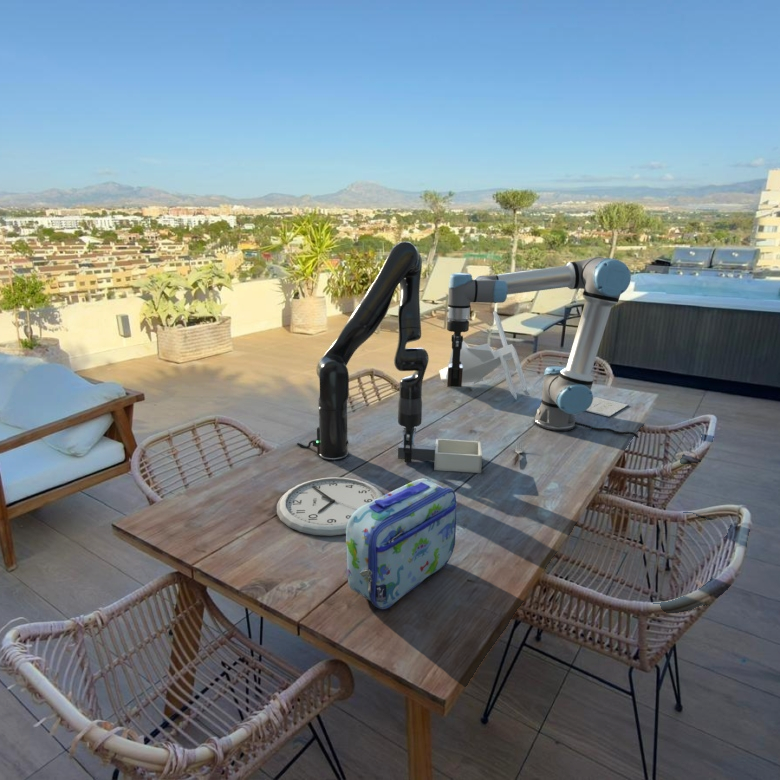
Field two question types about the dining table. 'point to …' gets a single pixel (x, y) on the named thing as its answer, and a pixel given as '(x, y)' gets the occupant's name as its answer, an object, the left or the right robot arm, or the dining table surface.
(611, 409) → the invitation card
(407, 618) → the dining table surface
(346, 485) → the wall clock
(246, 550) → the dining table surface
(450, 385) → the walnut block
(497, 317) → the white plastic object
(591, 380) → the right robot arm
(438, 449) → the bin
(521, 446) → the fork
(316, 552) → the dining table surface
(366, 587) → the lunch box
